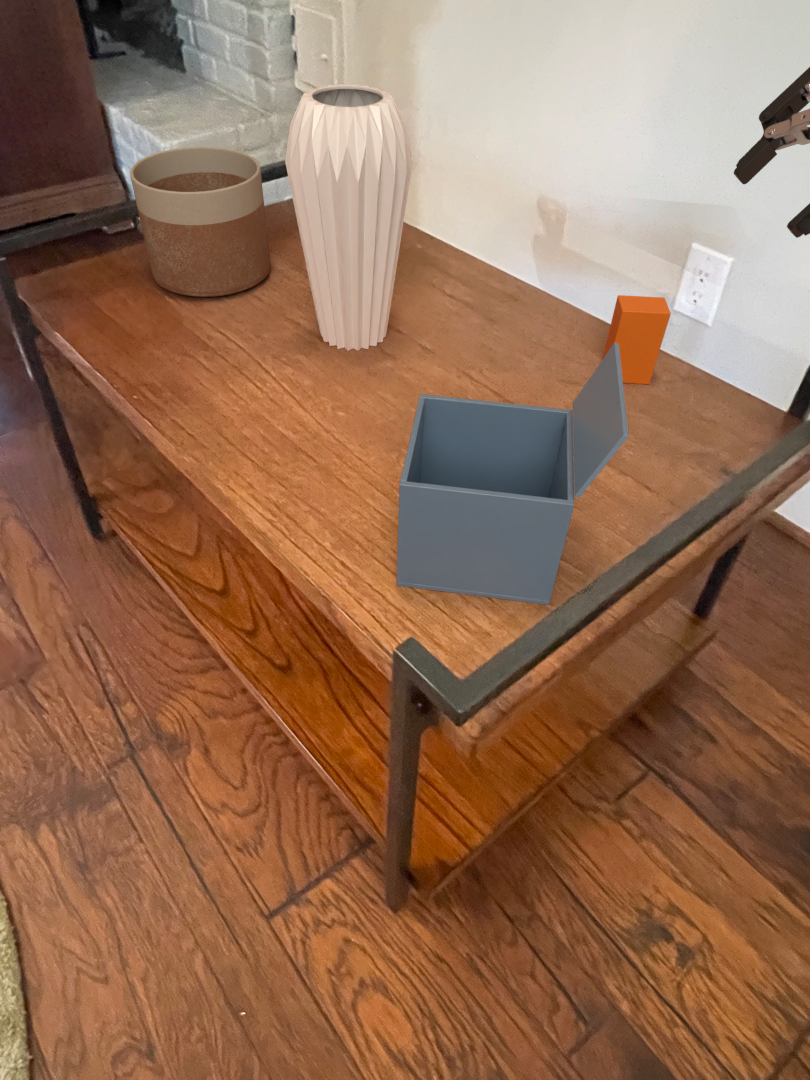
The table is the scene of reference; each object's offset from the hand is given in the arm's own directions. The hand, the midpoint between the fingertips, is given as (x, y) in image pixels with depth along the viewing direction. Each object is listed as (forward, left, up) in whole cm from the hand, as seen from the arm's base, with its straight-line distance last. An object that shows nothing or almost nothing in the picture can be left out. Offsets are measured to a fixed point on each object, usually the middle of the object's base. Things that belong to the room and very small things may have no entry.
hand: (764, 205), depth 71 cm
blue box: (+23, +29, -21) cm, 43 cm away
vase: (+41, -5, -21) cm, 46 cm away
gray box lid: (+16, +29, -6) cm, 34 cm away
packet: (+8, -2, -21) cm, 23 cm away
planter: (+63, -17, -21) cm, 69 cm away
